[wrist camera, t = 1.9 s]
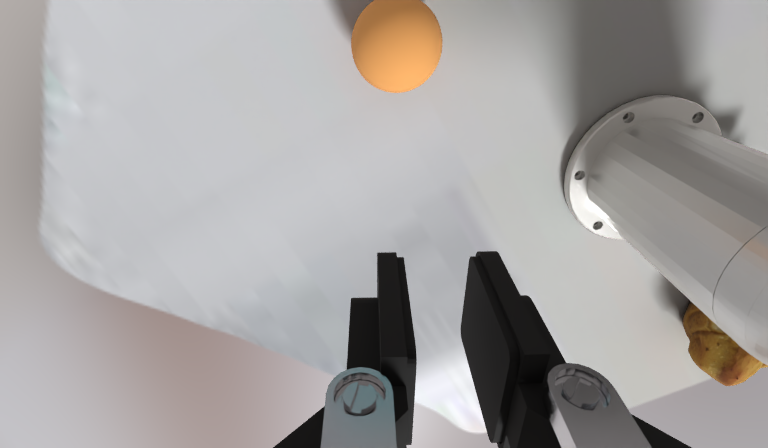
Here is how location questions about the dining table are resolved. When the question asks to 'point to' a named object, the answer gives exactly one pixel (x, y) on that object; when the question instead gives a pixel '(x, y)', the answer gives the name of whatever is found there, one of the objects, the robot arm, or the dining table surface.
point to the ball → (396, 44)
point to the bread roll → (717, 350)
